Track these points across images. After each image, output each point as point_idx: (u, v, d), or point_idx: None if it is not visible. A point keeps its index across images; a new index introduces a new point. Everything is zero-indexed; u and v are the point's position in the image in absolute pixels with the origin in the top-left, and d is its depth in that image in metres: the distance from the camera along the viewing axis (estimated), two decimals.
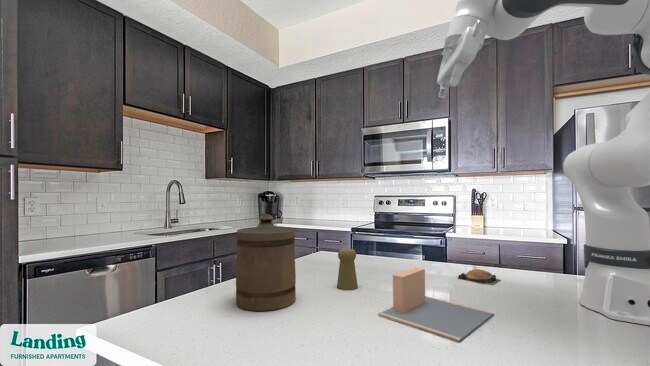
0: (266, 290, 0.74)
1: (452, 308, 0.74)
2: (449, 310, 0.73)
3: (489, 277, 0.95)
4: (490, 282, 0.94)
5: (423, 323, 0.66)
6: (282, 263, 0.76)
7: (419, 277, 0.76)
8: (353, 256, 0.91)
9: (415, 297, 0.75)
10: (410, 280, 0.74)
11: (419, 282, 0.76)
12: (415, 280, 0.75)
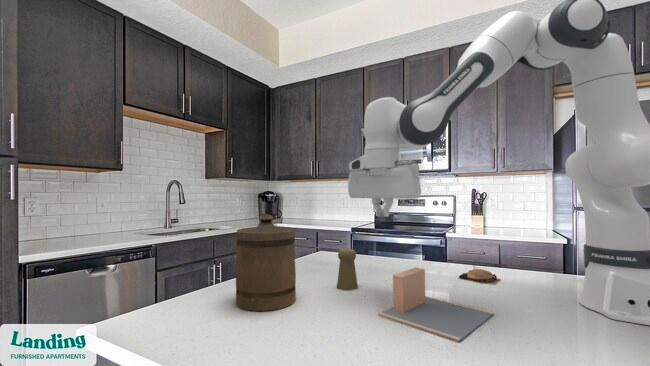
0: (266, 290, 0.74)
1: (452, 308, 0.74)
2: (449, 310, 0.73)
3: (490, 277, 0.96)
4: (492, 282, 0.94)
5: (423, 323, 0.66)
6: (282, 263, 0.76)
7: (419, 277, 0.76)
8: (353, 256, 0.91)
9: (415, 297, 0.75)
10: (410, 280, 0.74)
11: (419, 282, 0.76)
12: (415, 280, 0.75)
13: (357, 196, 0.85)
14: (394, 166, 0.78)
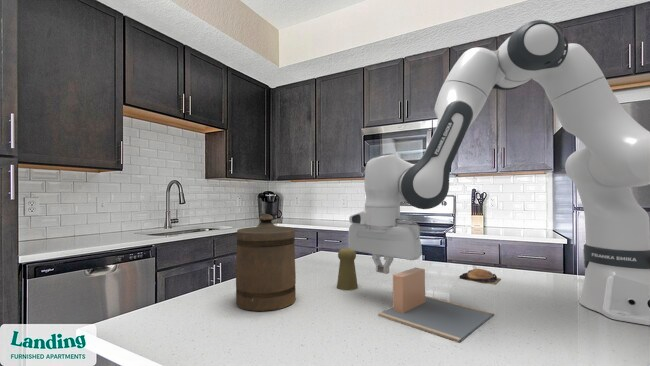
0: (266, 290, 0.74)
1: (452, 308, 0.74)
2: (449, 310, 0.73)
3: (491, 276, 0.96)
4: (492, 281, 0.95)
5: (423, 323, 0.66)
6: (282, 263, 0.76)
7: (419, 277, 0.76)
8: (353, 256, 0.91)
9: (415, 297, 0.75)
10: (410, 280, 0.74)
11: (419, 282, 0.76)
12: (415, 280, 0.75)
13: (357, 249, 0.85)
14: (395, 224, 0.78)
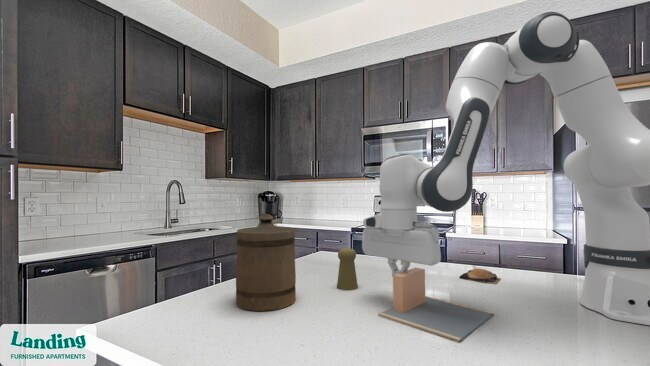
0: (266, 290, 0.74)
1: (452, 308, 0.74)
2: (449, 310, 0.73)
3: (491, 276, 0.96)
4: (493, 281, 0.95)
5: (423, 323, 0.66)
6: (282, 263, 0.76)
7: (419, 277, 0.76)
8: (353, 256, 0.91)
9: (415, 297, 0.75)
10: (410, 280, 0.74)
11: (419, 282, 0.76)
12: (415, 280, 0.75)
13: (372, 254, 0.81)
14: (412, 228, 0.74)
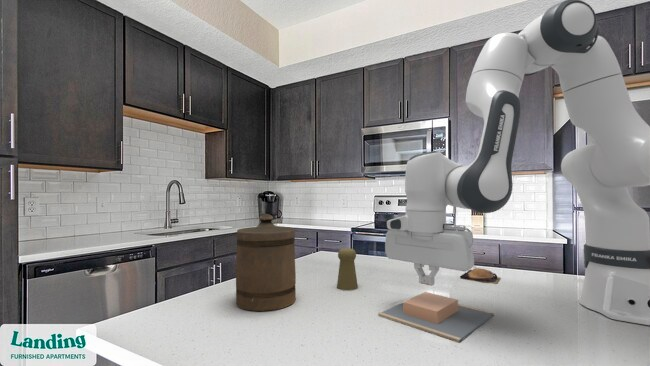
0: (266, 290, 0.74)
1: None
2: None
3: (492, 276, 0.97)
4: (494, 281, 0.95)
5: (423, 323, 0.66)
6: (282, 263, 0.76)
7: None
8: (353, 256, 0.91)
9: None
10: None
11: None
12: None
13: (396, 258, 0.76)
14: (442, 230, 0.69)
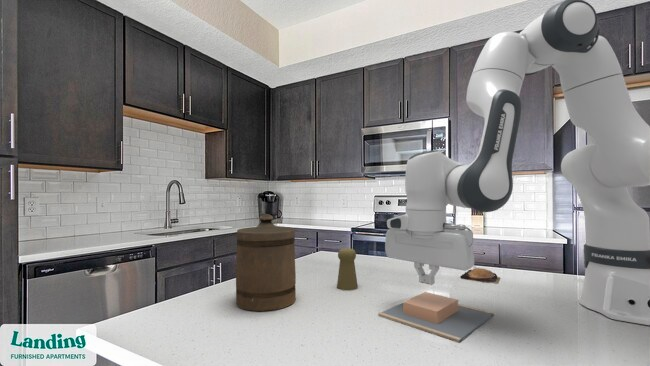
0: (266, 290, 0.74)
1: None
2: None
3: (492, 275, 0.97)
4: (494, 280, 0.95)
5: (423, 323, 0.66)
6: (282, 263, 0.76)
7: None
8: (353, 256, 0.91)
9: None
10: None
11: None
12: None
13: (396, 257, 0.76)
14: (442, 229, 0.69)
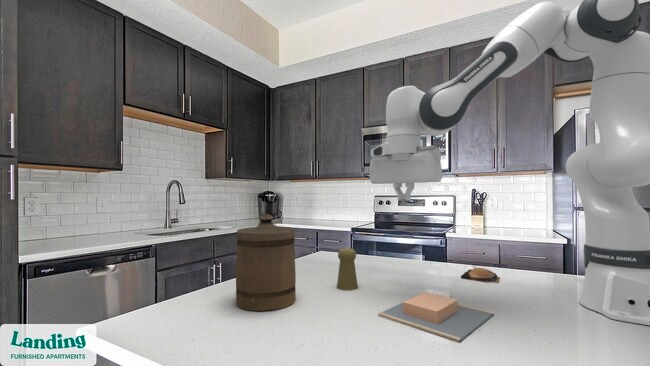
0: (266, 290, 0.74)
1: None
2: None
3: (492, 275, 0.97)
4: (495, 280, 0.96)
5: (423, 323, 0.66)
6: (282, 263, 0.76)
7: None
8: (353, 256, 0.91)
9: None
10: None
11: None
12: None
13: (379, 181, 0.89)
14: (416, 151, 0.82)
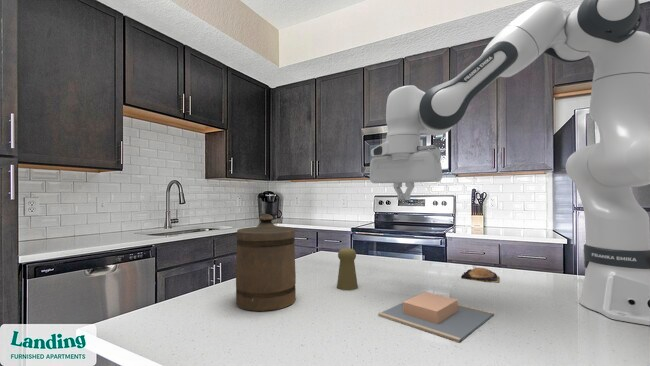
0: (266, 290, 0.74)
1: None
2: None
3: (493, 275, 0.98)
4: (495, 280, 0.96)
5: (423, 323, 0.66)
6: (282, 263, 0.76)
7: None
8: (353, 256, 0.91)
9: None
10: None
11: None
12: None
13: (379, 181, 0.89)
14: (416, 151, 0.82)
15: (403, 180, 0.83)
